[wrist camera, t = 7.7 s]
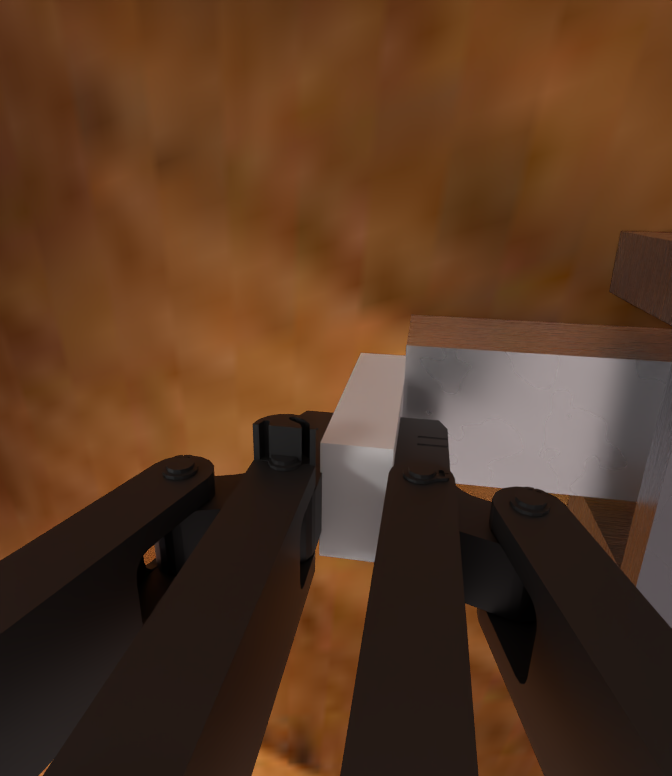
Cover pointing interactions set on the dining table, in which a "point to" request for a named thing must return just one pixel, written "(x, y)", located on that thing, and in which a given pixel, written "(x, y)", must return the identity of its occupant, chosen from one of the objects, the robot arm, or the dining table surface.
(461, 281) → the dining table surface
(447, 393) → the banded white block
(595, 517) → the collar
